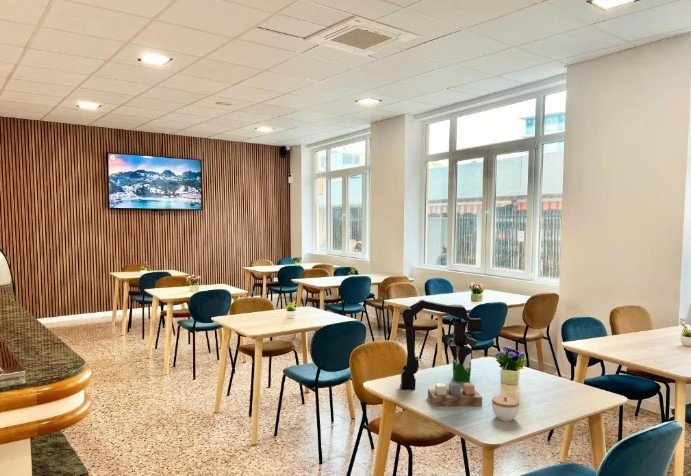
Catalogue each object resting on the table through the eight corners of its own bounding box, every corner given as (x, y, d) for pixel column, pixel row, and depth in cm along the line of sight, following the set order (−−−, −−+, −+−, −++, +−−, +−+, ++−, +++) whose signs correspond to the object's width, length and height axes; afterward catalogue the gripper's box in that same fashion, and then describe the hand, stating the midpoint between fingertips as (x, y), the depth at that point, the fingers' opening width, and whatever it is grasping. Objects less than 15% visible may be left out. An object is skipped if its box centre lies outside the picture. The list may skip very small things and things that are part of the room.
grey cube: (451, 395, 220) (451, 386, 220) (449, 391, 224) (449, 383, 224) (460, 394, 220) (460, 386, 220) (457, 391, 224) (457, 383, 224)
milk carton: (451, 376, 258) (451, 339, 257) (468, 376, 258) (469, 339, 257) (454, 381, 249) (455, 343, 249) (472, 382, 249) (473, 343, 249)
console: (433, 406, 216) (433, 397, 216) (427, 397, 227) (428, 389, 227) (482, 406, 217) (482, 397, 217) (473, 397, 228) (474, 388, 228)
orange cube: (465, 394, 220) (465, 385, 220) (462, 391, 224) (463, 382, 224) (474, 394, 220) (474, 385, 220) (471, 391, 224) (471, 382, 224)
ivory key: (437, 395, 219) (437, 386, 219) (435, 392, 223) (435, 383, 223) (446, 395, 220) (446, 386, 219) (443, 391, 224) (443, 383, 223)
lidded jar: (503, 425, 197) (504, 402, 197) (486, 415, 207) (486, 393, 207) (524, 421, 201) (524, 399, 201) (505, 411, 211) (506, 390, 211)
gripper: (482, 336, 227) (481, 369, 228) (468, 327, 245) (467, 357, 246) (459, 336, 226) (458, 369, 227) (447, 327, 244) (446, 357, 245)
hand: (458, 363), depth 236 cm, fingers open, 9 cm apart
